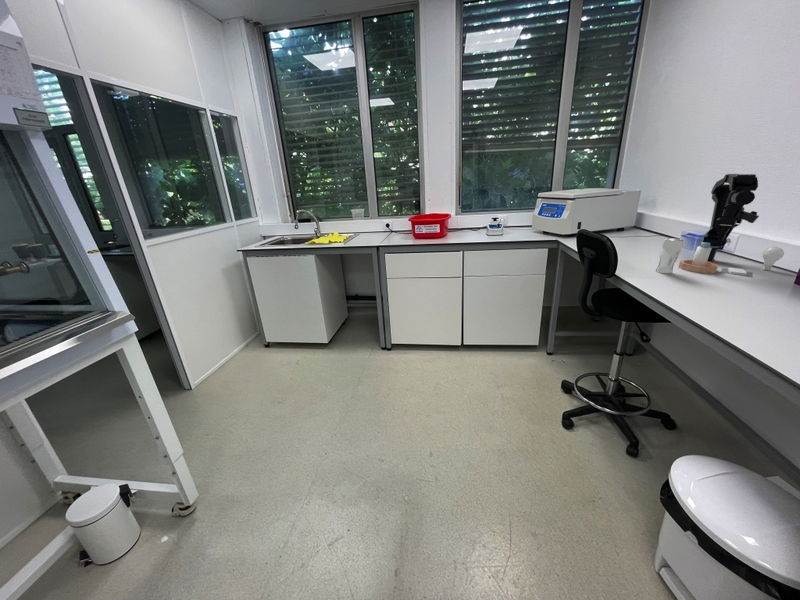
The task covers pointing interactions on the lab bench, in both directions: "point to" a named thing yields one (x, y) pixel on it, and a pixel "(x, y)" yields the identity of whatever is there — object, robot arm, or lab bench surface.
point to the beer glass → (669, 255)
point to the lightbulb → (771, 257)
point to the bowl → (698, 267)
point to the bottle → (702, 254)
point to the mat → (724, 270)
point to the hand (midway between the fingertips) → (722, 240)
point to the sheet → (737, 271)
